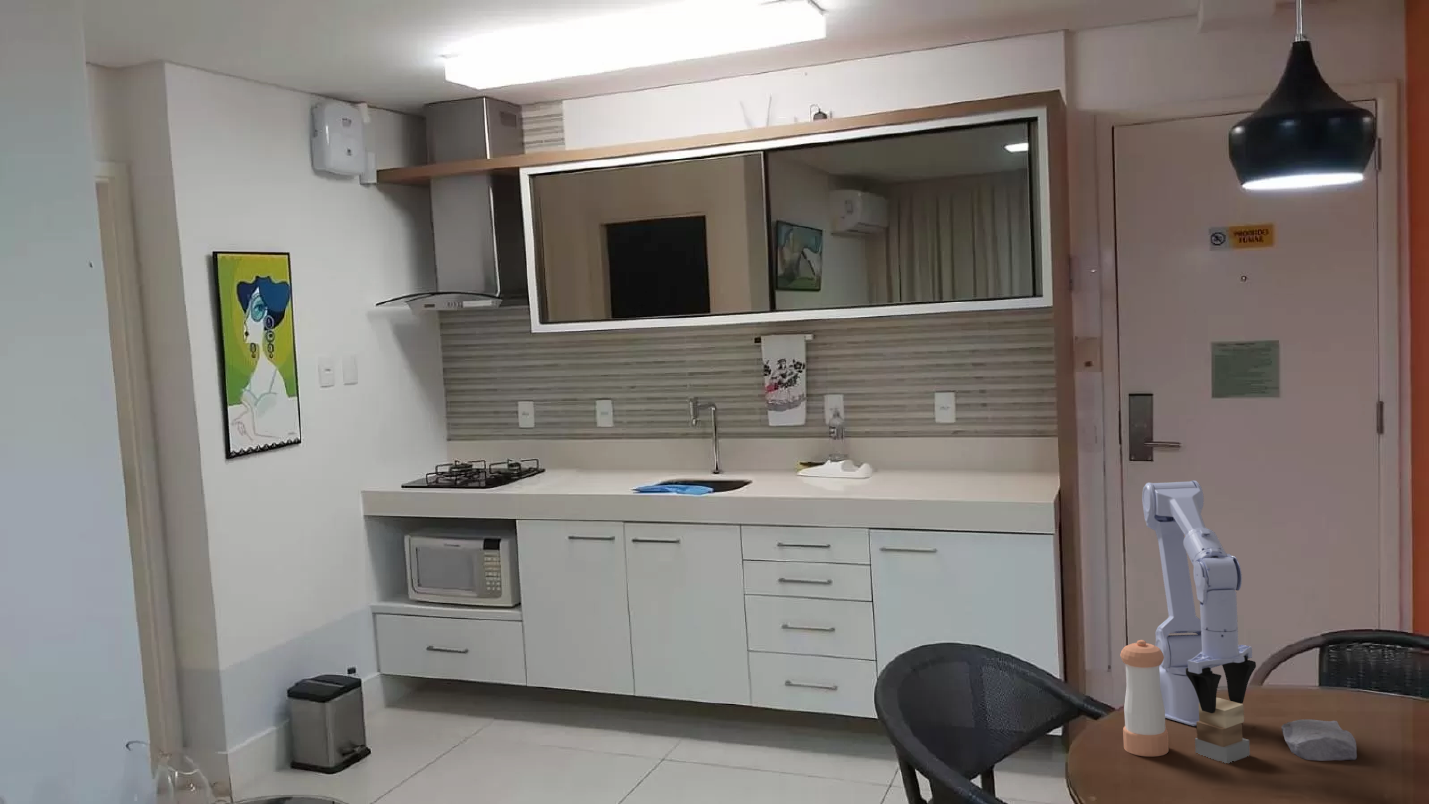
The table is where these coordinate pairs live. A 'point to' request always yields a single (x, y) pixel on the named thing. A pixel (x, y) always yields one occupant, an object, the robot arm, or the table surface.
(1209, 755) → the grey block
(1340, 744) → the stone block
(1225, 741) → the walnut block
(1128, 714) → the pepper shaker
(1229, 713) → the oak block
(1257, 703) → the table surface
